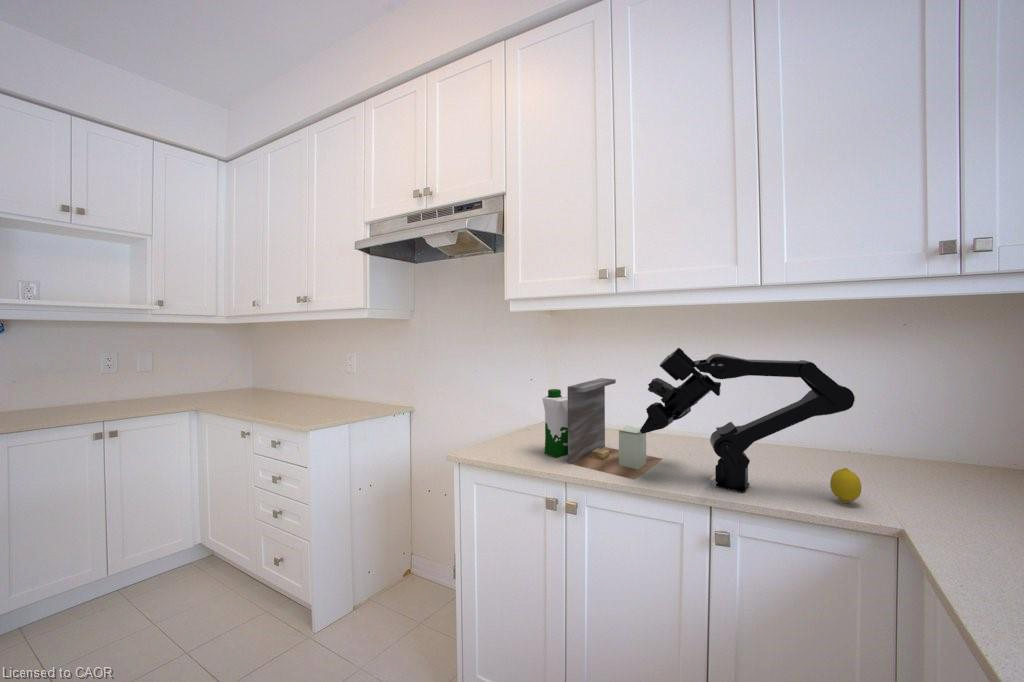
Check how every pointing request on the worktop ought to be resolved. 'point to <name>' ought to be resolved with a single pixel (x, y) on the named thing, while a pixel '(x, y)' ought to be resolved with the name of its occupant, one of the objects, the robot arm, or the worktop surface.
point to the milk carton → (556, 423)
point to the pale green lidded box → (632, 447)
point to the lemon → (845, 485)
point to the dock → (594, 431)
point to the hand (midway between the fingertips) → (647, 428)
